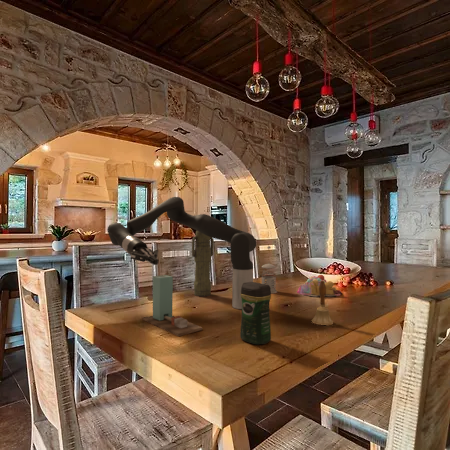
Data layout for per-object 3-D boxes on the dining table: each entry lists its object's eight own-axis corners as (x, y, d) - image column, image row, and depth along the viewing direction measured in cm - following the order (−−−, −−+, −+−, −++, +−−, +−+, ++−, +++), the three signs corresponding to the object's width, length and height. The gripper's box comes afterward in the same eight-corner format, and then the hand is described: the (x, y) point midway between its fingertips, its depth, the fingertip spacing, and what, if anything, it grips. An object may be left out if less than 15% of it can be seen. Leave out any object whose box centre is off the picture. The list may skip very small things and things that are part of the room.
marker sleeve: (152, 317, 124) (152, 276, 124) (165, 315, 128) (165, 274, 127) (159, 320, 120) (159, 278, 120) (172, 317, 124) (172, 276, 124)
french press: (280, 291, 180) (280, 246, 180) (271, 294, 170) (272, 247, 170) (264, 289, 186) (264, 245, 185) (255, 292, 176) (255, 246, 176)
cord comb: (142, 319, 125) (142, 310, 125) (165, 315, 132) (165, 306, 132) (178, 336, 107) (178, 325, 107) (202, 329, 114) (202, 319, 114)
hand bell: (330, 327, 118) (331, 283, 117) (308, 323, 122) (308, 281, 122) (336, 321, 125) (336, 280, 125) (314, 318, 129) (315, 278, 129)
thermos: (216, 294, 170) (217, 227, 170) (197, 297, 163) (198, 227, 162) (207, 291, 177) (207, 227, 177) (188, 294, 170) (189, 227, 170)
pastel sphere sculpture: (350, 297, 169) (350, 279, 169) (310, 299, 162) (311, 281, 162) (323, 287, 193) (323, 272, 193) (287, 289, 186) (287, 273, 186)
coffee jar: (275, 341, 103) (275, 283, 103) (258, 347, 98) (258, 286, 98) (252, 333, 111) (253, 279, 110) (236, 339, 105) (236, 281, 105)
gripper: (146, 253, 145) (168, 269, 133) (119, 256, 135) (140, 273, 124) (149, 237, 143) (171, 252, 131) (121, 239, 133) (142, 255, 122)
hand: (156, 262), depth 127 cm, fingers closed
